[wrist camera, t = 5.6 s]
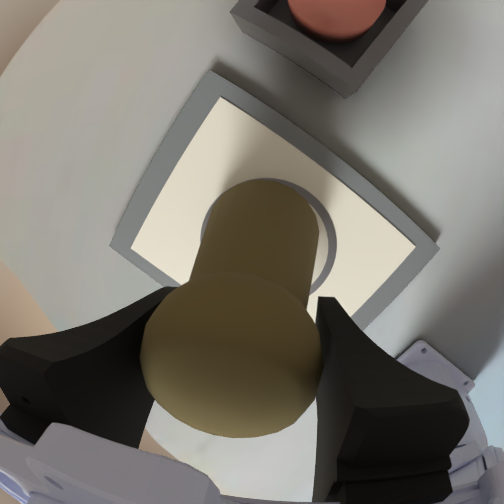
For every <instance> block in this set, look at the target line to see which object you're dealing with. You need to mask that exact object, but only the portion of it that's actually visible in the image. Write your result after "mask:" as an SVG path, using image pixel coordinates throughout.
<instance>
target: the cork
mask: <svg viewBox="0 0 504 504" xmlns="http://www.w3.org/2000/svg"><path fill="white" fill-rule="evenodd" d="M318 239H319V227H318V222H317V218H316V215H315V213H314V211H313V210H312V208H311V206H310V205H309V203H308V201H307V200H306V199H305V198H304V197H303V196H301V195H300V194H299V193H298V192H297V191H295V190H294V189H293V188H291V187H289V186H286V185H284V184H281V183H279V182H276V181H269V180H252V181H248V182H244V183H240V184H237V185H236V186H234V187H233V188H231V189H229V190H228V191H226V192H225V193H223V194H222V196H221V197H220V198H219V199H218V201H217V202H216V203H215V204H214V206H213V207H212V210H211V213H210V216H209V219H208V222H207V225H206V228H205V231H204V234H203V237H202V240H201V243H200V247H199V250H198V253H197V256H196V259H195V262H194V266H193V269H192V272H191V275H190V278H189V281H188V282H186V283H184V284H183V285H181V286H179V287H177V288H176V289H175V290H173V291H172V292H170V293H169V294H168V295H167V296H166V297H165V298H164V299H163V301H162V302H161V303H160V305H159V306H158V307H157V309H156V310H155V311H154V313H153V314H152V316H151V317H150V319H149V320H148V322H147V323H146V326H145V330H144V335H143V340H142V345H141V351H140V357H139V358H140V363H141V368H142V372H143V376H144V379H145V383H146V386H147V389H148V390H149V392H150V393H151V395H152V396H153V397H154V399H155V400H156V402H157V403H158V404H159V405H160V406H161V407H163V408H164V409H165V410H166V411H167V412H169V413H170V414H171V415H172V416H173V417H175V418H176V419H178V420H180V421H181V422H183V423H185V424H187V425H189V426H191V427H192V428H194V429H197V430H200V431H203V432H206V433H209V434H212V435H217V436H223V437H230V438H252V437H259V436H264V435H268V434H272V433H276V432H279V431H281V430H283V429H284V428H286V427H288V426H290V425H292V424H294V423H295V422H296V421H297V419H298V418H299V417H300V416H301V415H302V414H303V413H304V412H305V411H306V409H307V408H308V407H309V406H310V405H311V403H312V402H313V401H314V400H315V397H316V394H317V390H318V387H319V383H320V380H321V376H322V373H323V369H324V360H323V351H322V345H321V340H320V335H319V331H318V329H317V327H316V325H315V323H314V321H313V319H312V318H311V316H310V315H309V313H308V312H307V305H308V300H309V294H310V289H311V283H312V277H313V271H314V265H315V259H316V253H317V247H318Z"/></svg>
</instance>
